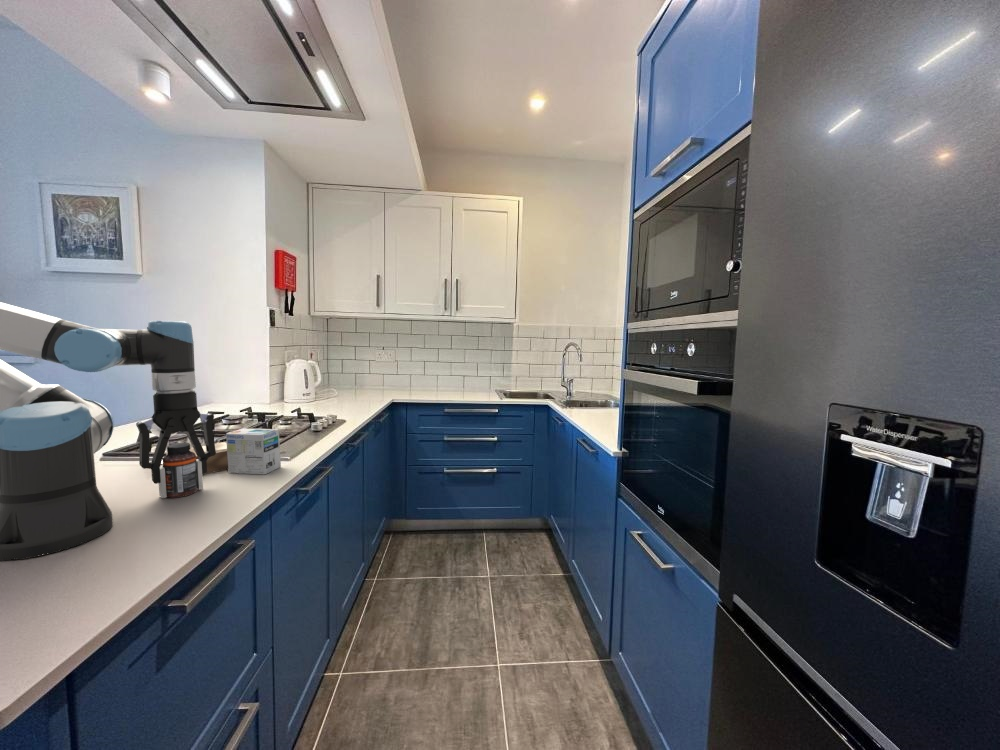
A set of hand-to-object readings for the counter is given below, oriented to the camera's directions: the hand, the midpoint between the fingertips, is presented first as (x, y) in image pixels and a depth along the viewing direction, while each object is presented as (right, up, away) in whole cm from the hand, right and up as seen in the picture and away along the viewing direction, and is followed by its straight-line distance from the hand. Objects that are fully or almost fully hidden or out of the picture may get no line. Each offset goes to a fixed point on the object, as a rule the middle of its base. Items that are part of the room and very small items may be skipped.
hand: (181, 491), depth 92 cm
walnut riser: (-6, +1, +19) cm, 20 cm away
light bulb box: (+7, +1, +17) cm, 18 cm away
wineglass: (-22, +2, +23) cm, 32 cm away
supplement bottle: (0, -1, 0) cm, 1 cm away
